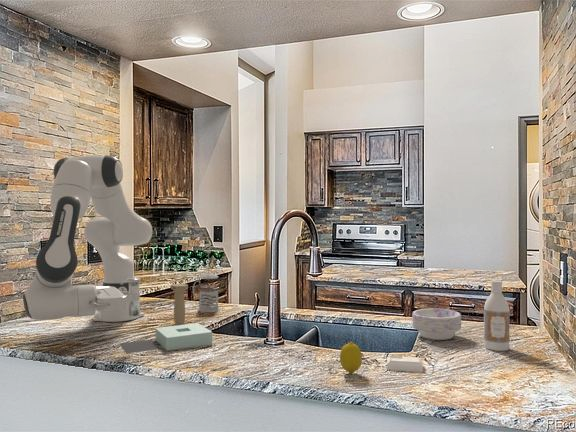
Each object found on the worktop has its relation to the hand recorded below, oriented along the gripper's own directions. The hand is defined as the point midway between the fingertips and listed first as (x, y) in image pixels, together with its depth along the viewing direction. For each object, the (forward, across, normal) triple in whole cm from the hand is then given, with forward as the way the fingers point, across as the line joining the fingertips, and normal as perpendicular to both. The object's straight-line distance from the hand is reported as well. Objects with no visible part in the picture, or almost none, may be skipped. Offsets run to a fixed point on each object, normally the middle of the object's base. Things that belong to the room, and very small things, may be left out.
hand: (137, 295), depth 147 cm
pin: (-1, 0, +6) cm, 6 cm away
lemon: (+42, -50, +16) cm, 67 cm away
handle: (+19, +21, +16) cm, 32 cm away
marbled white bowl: (+88, -35, +16) cm, 96 cm away
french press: (+38, +46, +17) cm, 62 cm away
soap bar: (+57, -54, +16) cm, 80 cm away
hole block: (+14, 0, +16) cm, 21 cm away
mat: (+1, +2, +16) cm, 16 cm away
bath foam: (+93, -53, +16) cm, 108 cm away
